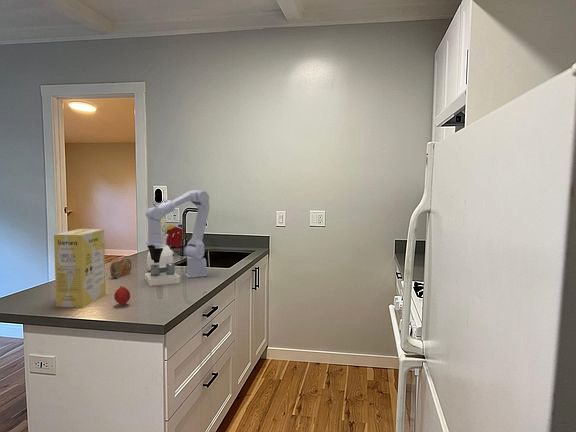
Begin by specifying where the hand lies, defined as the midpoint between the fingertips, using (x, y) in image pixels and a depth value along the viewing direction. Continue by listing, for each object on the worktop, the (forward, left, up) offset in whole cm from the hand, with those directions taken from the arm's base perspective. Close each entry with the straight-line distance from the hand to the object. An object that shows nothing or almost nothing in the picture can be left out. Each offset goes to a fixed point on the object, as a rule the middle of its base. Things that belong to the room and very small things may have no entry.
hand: (155, 261), depth 197 cm
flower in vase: (-17, -67, -11) cm, 70 cm away
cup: (-7, -25, -11) cm, 28 cm away
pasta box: (+31, +17, -11) cm, 37 cm away
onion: (+17, +31, -11) cm, 37 cm away
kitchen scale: (-4, -2, -10) cm, 11 cm away
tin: (+13, -21, -11) cm, 27 cm away
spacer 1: (0, 0, -7) cm, 7 cm away
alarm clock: (-31, -97, -11) cm, 102 cm away
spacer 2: (-7, 0, -7) cm, 10 cm away
